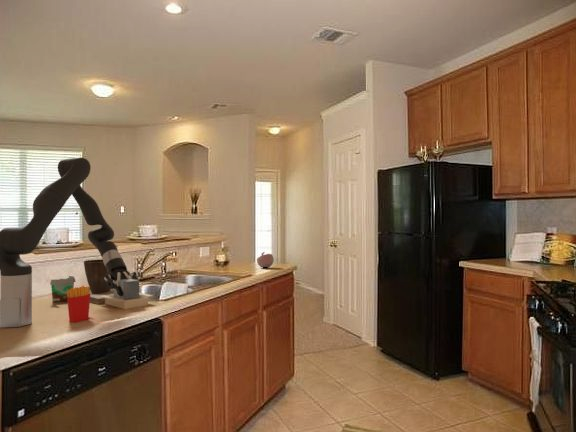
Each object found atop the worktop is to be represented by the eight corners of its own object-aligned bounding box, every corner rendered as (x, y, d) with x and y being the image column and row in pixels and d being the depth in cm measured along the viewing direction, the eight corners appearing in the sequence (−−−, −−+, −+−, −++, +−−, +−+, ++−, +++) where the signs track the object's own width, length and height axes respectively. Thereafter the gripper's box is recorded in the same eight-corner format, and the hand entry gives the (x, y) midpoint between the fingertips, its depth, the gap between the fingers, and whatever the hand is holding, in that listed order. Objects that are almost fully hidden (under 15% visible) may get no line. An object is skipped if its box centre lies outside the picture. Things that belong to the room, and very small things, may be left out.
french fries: (85, 317, 162) (84, 284, 162) (92, 318, 160) (92, 285, 160) (64, 322, 155) (64, 288, 155) (71, 323, 153) (71, 288, 153)
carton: (118, 312, 171) (118, 300, 171) (98, 306, 182) (98, 296, 182) (153, 306, 182) (153, 295, 182) (133, 301, 193) (133, 291, 193)
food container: (62, 303, 188) (62, 280, 188) (50, 303, 189) (50, 279, 189) (81, 298, 200) (81, 276, 200) (69, 297, 201) (69, 275, 201)
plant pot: (84, 292, 215) (84, 259, 215) (117, 290, 220) (117, 258, 220) (82, 297, 201) (82, 262, 201) (117, 295, 206) (117, 261, 206)
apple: (266, 266, 322) (266, 251, 322) (277, 268, 312) (277, 252, 312) (253, 268, 314) (253, 252, 314) (263, 269, 305) (263, 253, 305)
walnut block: (98, 306, 182) (98, 298, 182) (85, 302, 190) (85, 295, 190) (125, 301, 191) (125, 294, 191) (111, 298, 199) (111, 291, 199)
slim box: (127, 307, 176) (127, 281, 176) (113, 303, 184) (113, 279, 184) (139, 305, 180) (139, 280, 180) (125, 301, 187) (125, 277, 187)
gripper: (100, 258, 181) (115, 290, 174) (132, 255, 192) (147, 286, 184) (94, 270, 185) (108, 302, 177) (126, 267, 196) (141, 297, 188)
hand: (128, 294), depth 181 cm, fingers closed on slim box, 5 cm apart
